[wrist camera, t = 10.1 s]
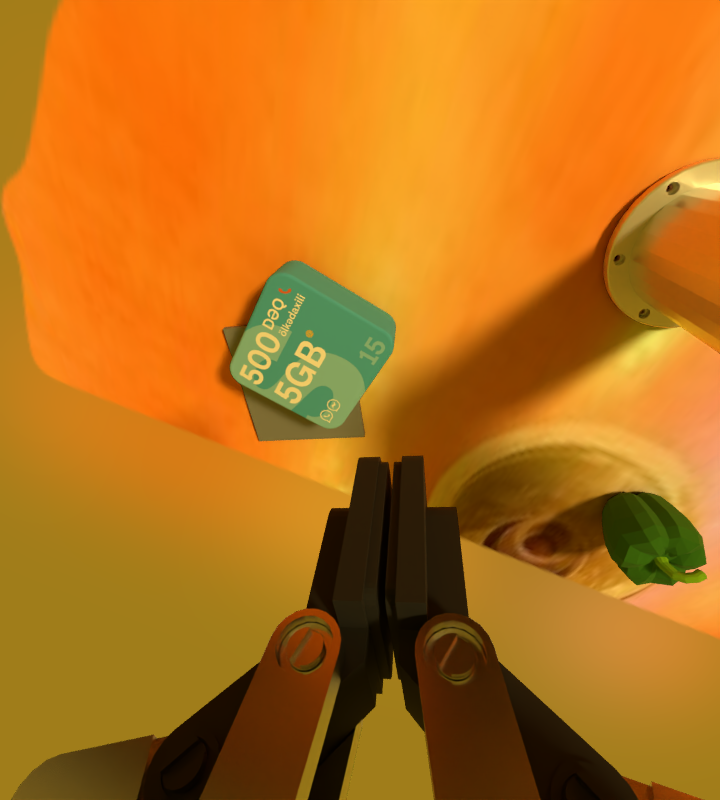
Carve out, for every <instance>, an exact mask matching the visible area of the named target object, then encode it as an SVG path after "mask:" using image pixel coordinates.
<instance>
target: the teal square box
mask: <svg viewBox="0 0 720 800" xmlns="http://www.w3.org/2000/svg"><path fill="white" fill-rule="evenodd" d="M395 331H396V325H395V322H394V320H393V318H392V317H391V316H390V315H389V314H388V313H386V312H385V311H383V310H381V309H380V308H378V307H376V306H375V305H373V304H371V303H370V302H368V301H366V300H365V299H363V298H361V297H360V296H358V295H356V294H355V293H353V292H351V291H350V290H348V289H346V288H345V287H343V286H341V285H340V284H338V283H336V282H335V281H333V280H331V279H330V278H328V277H326V276H325V275H323V274H321V273H320V272H318V271H316V270H315V269H313V268H312V267H310V266H308V265H307V264H305V263H303V262H301V261H289V262H287V263H285V264H284V265H283V266H282V267H280V268H279V269H278V270H277V271H276V272H275V273H274V274H273V275H271V276H270V277H269V278H268V280H267V281H266V284H265V286H264V288H263V290H262V293H261V295H260V297H259V299H258V302H257V304H256V306H255V308H254V311H253V313H252V315H251V318H250V320H249V322H248V324H247V327H246V329H245V331H244V333H243V336H242V338H241V340H240V342H239V345H238V347H237V349H236V352H235V354H234V356H233V358H232V361H231V363H230V372H231V375H232V376H233V378H234V379H235V380H236V381H237V382H238V383H240V384H241V385H243V386H245V387H247V388H249V389H251V390H253V391H255V392H257V393H258V394H260V395H262V396H264V397H266V398H268V399H270V400H272V401H274V402H276V403H277V404H279V405H281V406H283V407H285V408H287V409H289V410H291V411H293V412H294V413H296V414H298V415H300V416H302V417H304V418H306V419H308V420H310V421H312V422H313V423H315V424H317V425H319V426H321V427H323V428H327V429H334V428H337V427H339V426H341V425H342V424H343V423H344V421H345V420H346V418H347V417H348V416H349V414H350V413H351V411H352V410H353V408H354V407H355V406H356V404H357V403H358V401H359V400H360V398H361V397H362V396H363V394H364V393H365V391H366V390H367V388H368V387H369V385H370V384H371V383H372V381H373V380H374V378H375V377H376V375H377V374H378V373H379V371H380V370H381V368H382V367H383V365H384V364H385V362H386V361H387V360H388V358H389V357H390V355H391V354H392V352H393V348H394V339H395Z"/></svg>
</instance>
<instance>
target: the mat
mask: <svg viewBox="0 0 720 800" xmlns="http://www.w3.org/2000/svg"><path fill="white" fill-rule="evenodd" d="M246 327H247V325H245V326H234V327H225V328H224V329H223V331H224V334H225V337H226V340H227V343H228V346H229V349H230V352H231V355H232V358H233V356H234V354H235V352H236V349H237V347H238V345H239V342H240V340H241V338H242V336H243V333H244V331H245V329H246ZM241 386H242V389H243V392H244V395H245V398H246V401H247V404H248V407H249V411H250V414H251V417H252V420H253V423H254V426H255V429H256V432H257V435H258V438H259V441H275V440H300V439H325V438H349V437H365V431H364V425H363V419H362V413H361V407H360V400H359V401H358V403H357V404H356V406H355V407H354V408H353V410H352V411H351V413H350V414H349V416H348V417H347V418H346V420H345V421H344V423H343V424H342V425H341V426H339V427H337V428H334V429H327V428H323V427H321V426H319V425H317V424H315V423H313V422H312V421H310V420H308V419H306V418H304V417H302V416H300V415H298V414H296V413H294V412H293V411H291V410H289V409H287V408H285V407H283V406H281V405H279V404H277V403H276V402H274V401H272V400H270V399H268V398H266V397H264V396H262V395H260V394H258V393H257V392H255V391H253V390H251V389H249V388H247V387H245V386H243V385H241Z"/></svg>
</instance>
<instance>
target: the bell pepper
mask: <svg viewBox="0 0 720 800" xmlns="http://www.w3.org/2000/svg"><path fill="white" fill-rule="evenodd" d="M602 527H603V534H604V540H605V545H606V547H607V549H608V552H609V554H610V556H611V559H612V560H614V561H615V562H616V563H617V565H618V567H619V568H620V569H621V570H622V571H623V572H624V573H625V574H626V576H627V577H628V578H629V579H630V580H631V581H633V582H634V583H635V584H636V585H641V584H646V583H657V584H664V585H672V586H673V585H674V584H675V583H676V582H678V581H679V582H683V583H698V582H701V581H703V580H705V579H707V576H706V574H705V573H704V572H703V571H701V570H699V569H697V570H695V571H694V572H691V573H685V571H686V570H690V569H696V568H698V567H700V566H703V565H705V564H706V556H705V550H704V545H703V539H702V536H701V535H700V534H699V532H698V531H697V530H696V528H695V527H694V526H693V525H692V523H691V522H690V521H689V520H688V519H687V518H686V517H685V516H684V515H683V514H682V513H681V512H679V511H678V510H677V509H676V508H675V507H674V506H673V505H671V504H670V503H669V502H667V501H666V500H665V499H663V498H662V497H661V496H658V495H655V494H651V493H645V492H642V493H640V494H638V495H634V494H632V493H630V492H629V493H620V494H618V495H616V496H614V497H612V498H610V499H609V500H608V502H607V503H606V505H605V506H604V508H603V512H602Z"/></svg>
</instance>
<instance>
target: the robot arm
mask: <svg viewBox="0 0 720 800" xmlns="http://www.w3.org/2000/svg"><path fill="white" fill-rule="evenodd" d="M669 184H670V188H669V189H668V190H667V191H666V188H667V186H668V185H669ZM617 255H618V258H617V259H616V260H614V258H615V257H616V256H617ZM604 281H605V285H606V290H607V292H608V294H609V296H610V298H611V300H612V301H613V302H614V303H615V305H616V306H617V307H618V308H619V309H620V310H621V311H622V312H624V313H625V314H626V315H627V316H628V317H630V318H632V319H634V320H635V321H637V322H639V323H643V324H646V325H649V326H653V327H664V328H672V327H682V328H683V329H685V330H686V331H688V332H689V333H691V334H692V335H693V336H695V337H696V338H698V339H699V340H701V341H702V342H704V343H705V344H707V345H708V346H710V347H711V348H712V349H714V350H715V351H717V352H718V353H720V158H714V159H707V160H703V161H700V162H696V163H693V164H690V165H687V166H685V167H683V168H681V169H678V170H676V171H674V172H672V173H670V174H668V175H667V176H665V177H664V178H662V179H661V180H659V181H658V182H656V183H655V184H654V185H652V186H651V187H649V188H648V189H647V190H646V191H645V192H644V193H643V194H642V195H641V196H640V197H639V198H637V199H636V200H635V201H634V203H633V204H632V205H631V206H630V207H629V209H628V210H627V211H626V212H625V213H624V215H623V216H622V218H621V219H620V221H619V223H618V224H617V226H616V228H615V229H614V231H613V233H612V236H611V238H610V241H609V243H608V245H607V249H606V254H605V258H604ZM641 310H642V311H641ZM640 311H641V312H640ZM393 651H394V657H395V663H396V668H397V674H398V679H400V680H401V683H402V689H403V694H404V700H405V706H406V709H407V711H408V712H409V713H410V714H411V716H412V717H413V718H414V720H415V721H416V722H417V723H418V724H419V726H420V727H421V728H422V730H423V731H424V732H425V738H426V746H427V753H428V760H429V768H430V775H431V782H432V789H433V797H434V800H703V799H700V798H697V797H694V796H692V795H689V794H686V793H683V792H680V791H677V790H674V789H672V788H669V787H666V786H663V785H660V784H657V783H655V782H651V783H650V785H646V784H643V783H641V782H637V781H635V780H632V779H629V778H626V777H623V776H621V775H620V774H619V773H618V772H617V770H615V768H614V767H613V766H611V765H610V764H609V763H608V762H607V761H606V760H605V759H604V758H603V757H602V756H601V755H600V754H598V753H597V752H596V751H595V750H594V749H593V748H592V747H591V746H590V745H589V744H588V743H587V742H585V741H584V740H583V739H582V738H581V737H580V736H579V735H578V734H577V733H576V732H575V731H573V730H572V729H571V728H570V727H569V726H568V725H567V724H566V723H565V722H564V721H563V720H562V719H561V718H559V717H558V716H557V715H556V714H555V713H554V712H553V711H552V710H551V709H550V708H548V706H546V705H545V704H544V703H543V702H542V701H541V700H540V699H539V698H538V697H537V696H536V695H534V694H533V693H532V692H531V691H530V690H529V689H528V688H527V687H526V686H525V685H524V684H523V683H522V682H520V681H519V680H518V679H517V678H516V677H515V676H514V675H513V674H512V673H511V672H510V671H508V670H507V669H506V668H505V667H504V666H503V665H502V664H501V663H500V662H499V661H498V658H497V654H496V651H495V648H494V645H493V643H492V641H491V639H490V637H489V635H488V634H487V632H486V631H485V630H484V629H483V628H482V627H481V625H480V624H478V623H477V622H475V621H474V620H472V619H471V618H469V616H468V608H467V598H466V589H465V580H464V571H463V562H462V553H461V544H460V535H459V526H458V517H457V509H456V507H427V500H426V486H425V473H424V459H423V456H402V462H394V471H393V485H391V478H390V470H389V464H388V462H381V459H380V457H364V458H359V460H358V464H357V470H356V475H355V480H354V486H353V491H352V497H351V502H350V507H349V508H332V509H331V511H330V513H329V516H328V520H327V524H326V528H325V532H324V537H323V541H322V545H321V550H320V553H319V558H318V562H317V566H316V570H315V575H314V579H313V583H312V587H311V592H310V595H309V600H308V604H307V608H306V609H303V610H300V611H296V612H294V613H293V614H291V615H289V616H288V617H286V618H285V619H284V620H283V621H282V622H281V623H280V624H279V625H278V626H277V628H276V629H275V631H274V633H273V634H272V636H271V638H270V640H269V643H268V645H267V647H266V650H265V652H264V654H263V656H262V658H261V661H260V662H259V663H258V664H256V665H255V666H254V667H253V668H251V669H250V670H249V671H248V672H246V674H244V675H243V676H242V677H240V678H239V679H238V680H236V681H235V682H234V683H233V684H231V685H230V686H229V687H228V688H226V689H225V690H224V691H223V692H221V693H220V694H219V695H218V696H216V697H215V698H214V699H213V700H211V701H210V702H209V703H208V704H206V705H205V706H204V707H203V708H201V709H200V710H199V711H198V712H196V713H195V714H194V715H193V716H191V717H190V718H189V719H188V720H186V721H185V722H184V723H183V724H181V725H180V726H179V727H178V728H176V729H175V730H174V731H173V732H172V733H171V734H170V735H169V736H166V737H162V738H156V737H155V736H154V735H149V736H145V737H140V738H136V739H131V740H126V741H121V742H116V743H111V744H107V745H102V746H98V747H93V748H88V749H83V750H78V751H73V752H69V753H64V754H60V755H57V756H55V757H53V758H50V759H48V760H46V761H45V762H43V763H42V764H41V765H40V766H38V767H37V768H36V769H34V770H33V771H32V772H31V773H30V774H29V775H28V776H27V778H26V779H25V780H24V781H23V782H22V783H21V784H20V786H19V787H18V789H17V790H16V792H15V794H14V795H13V797H12V799H11V800H346V799H347V794H348V790H349V785H350V781H351V776H352V771H353V767H354V762H355V758H356V753H357V749H358V744H359V739H360V735H361V731H362V723H363V719H364V718H365V717H366V715H367V714H368V713H369V712H370V711H371V710H372V709H373V708H374V707H375V705H376V694H382V688H383V679H391V677H392V664H393Z"/></svg>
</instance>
